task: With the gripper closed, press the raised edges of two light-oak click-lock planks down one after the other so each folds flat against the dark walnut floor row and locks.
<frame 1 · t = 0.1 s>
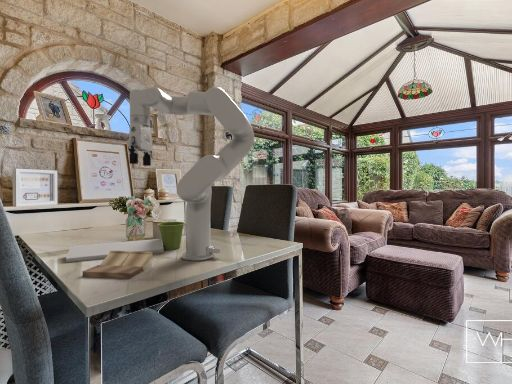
hand: (140, 164, 110), 37 cm above the table, tool pointing down, fingers open, 9 cm apart
plank b: (116, 259, 94), point 3 cm above the table, hinge at 30.0°
floor row: (113, 273, 86), on the table
decorative molding: (118, 256, 112), on the table
plank a: (137, 260, 93), point 3 cm above the table, hinge at 30.0°
plant pot: (171, 248, 122), on the table
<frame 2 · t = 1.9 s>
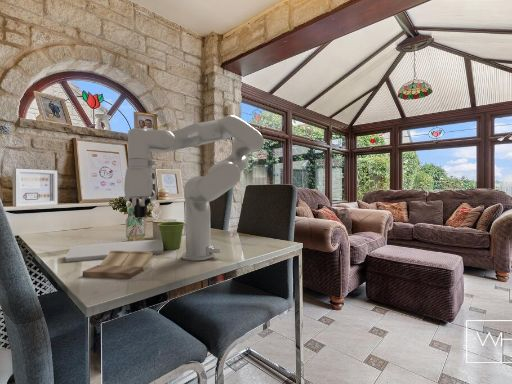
hand: (140, 217, 95), 17 cm above the table, tool pointing down, fingers closed
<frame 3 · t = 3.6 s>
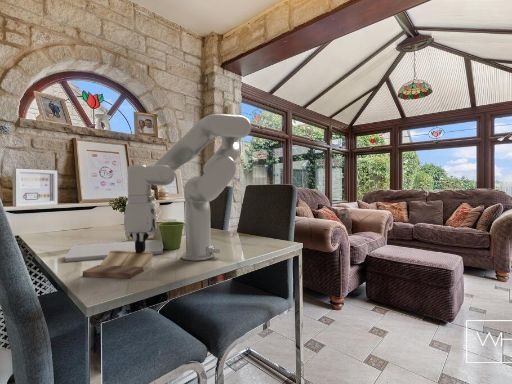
hand: (140, 252, 96), 5 cm above the table, tool pointing down, fingers closed
plank a: (137, 260, 93), point 2 cm above the table, hinge at 28.5°, touching gripper
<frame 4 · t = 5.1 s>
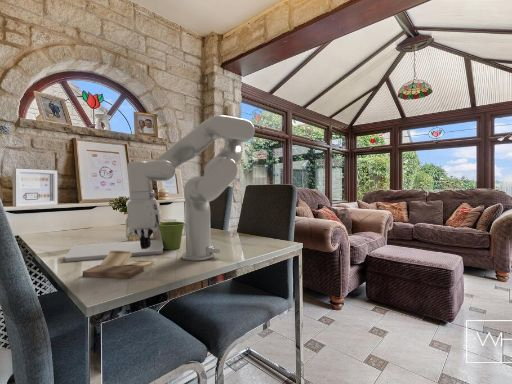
hand: (145, 247, 96), 6 cm above the table, tool pointing down, fingers closed
plank a: (139, 265, 94), point 1 cm above the table, hinge at -5.5°
everything else where it was.
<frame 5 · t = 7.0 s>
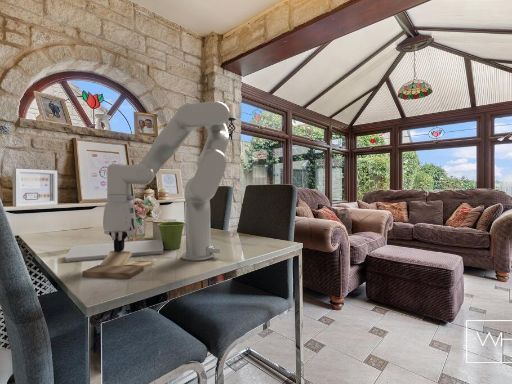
hand: (119, 250, 96), 5 cm above the table, tool pointing down, fingers closed
plank b: (116, 259, 94), point 3 cm above the table, hinge at 30.0°, touching gripper
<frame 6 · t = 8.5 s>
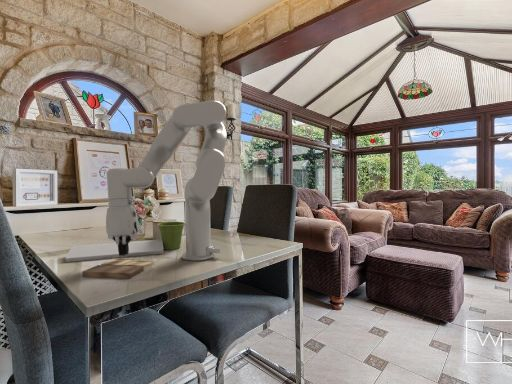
hand: (123, 254, 97), 4 cm above the table, tool pointing down, fingers closed
plank b: (117, 263, 95), point 1 cm above the table, hinge at -0.3°
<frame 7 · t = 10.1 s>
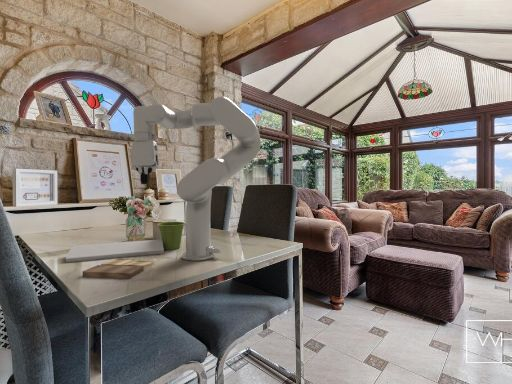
hand: (145, 184, 109), 29 cm above the table, tool pointing down, fingers closed
nothing on the table moved.
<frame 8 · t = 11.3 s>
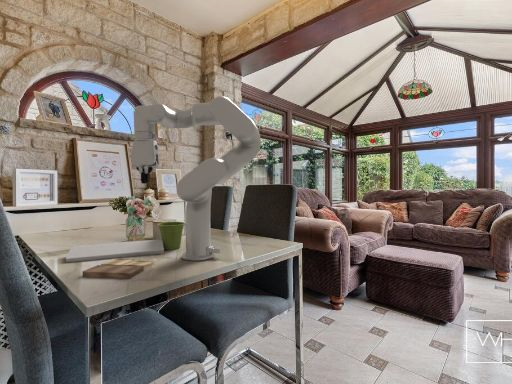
hand: (145, 183, 110), 29 cm above the table, tool pointing down, fingers closed
nothing on the table moved.
at the end: plank a at -5° (first picture: +30°); plank b at -1° (first picture: +30°); plank b touching table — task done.
